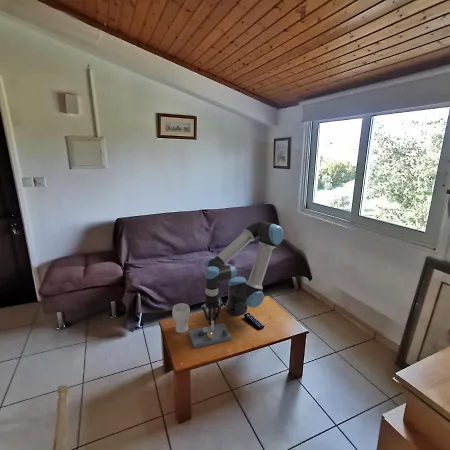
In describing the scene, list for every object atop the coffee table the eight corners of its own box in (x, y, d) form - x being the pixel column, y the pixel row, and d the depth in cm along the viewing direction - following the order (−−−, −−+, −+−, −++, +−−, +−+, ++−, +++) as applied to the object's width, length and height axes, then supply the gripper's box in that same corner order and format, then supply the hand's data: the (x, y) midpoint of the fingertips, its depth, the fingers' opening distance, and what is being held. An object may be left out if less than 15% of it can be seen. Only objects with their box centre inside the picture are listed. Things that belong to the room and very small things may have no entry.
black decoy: (226, 332, 164) (226, 327, 163) (228, 336, 160) (228, 331, 160) (221, 333, 162) (221, 328, 162) (223, 337, 159) (223, 332, 158)
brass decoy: (212, 335, 161) (212, 329, 160) (214, 339, 158) (214, 333, 156) (205, 336, 160) (205, 330, 159) (207, 341, 156) (207, 335, 155)
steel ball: (201, 328, 163) (203, 332, 164) (203, 331, 160) (205, 335, 161) (206, 325, 164) (208, 329, 165) (208, 328, 161) (210, 332, 162)
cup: (187, 335, 164) (186, 313, 160) (170, 333, 166) (169, 311, 162) (192, 325, 174) (192, 303, 170) (176, 322, 176) (175, 301, 172)
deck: (223, 326, 173) (223, 323, 172) (231, 339, 161) (231, 336, 161) (188, 334, 166) (188, 330, 165) (194, 348, 154) (193, 344, 153)
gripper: (220, 288, 163) (220, 323, 169) (199, 292, 159) (199, 327, 165) (225, 294, 157) (224, 330, 163) (202, 298, 152) (202, 335, 158)
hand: (211, 329), depth 164 cm, fingers closed
